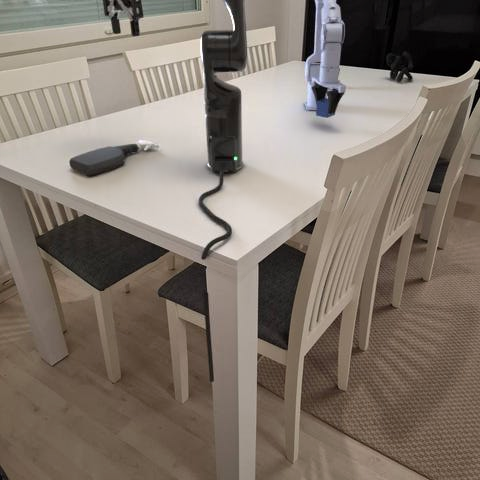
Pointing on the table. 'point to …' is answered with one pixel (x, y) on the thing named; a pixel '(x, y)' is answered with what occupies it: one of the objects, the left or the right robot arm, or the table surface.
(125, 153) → the spray bottle
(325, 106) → the brick
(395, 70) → the squiggle
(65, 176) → the table surface
